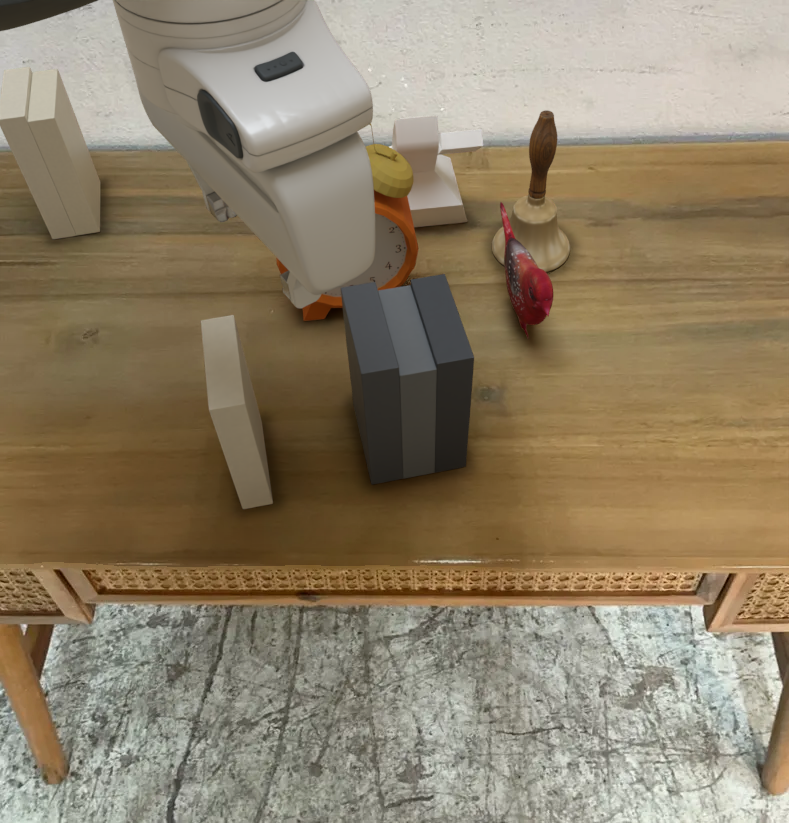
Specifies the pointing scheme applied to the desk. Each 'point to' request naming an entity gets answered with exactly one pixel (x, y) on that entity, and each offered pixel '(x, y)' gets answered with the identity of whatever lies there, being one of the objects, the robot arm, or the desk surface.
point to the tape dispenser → (433, 168)
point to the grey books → (409, 377)
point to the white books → (50, 150)
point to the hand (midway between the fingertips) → (262, 253)
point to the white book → (235, 411)
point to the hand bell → (538, 205)
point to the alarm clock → (381, 231)
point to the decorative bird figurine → (525, 280)
